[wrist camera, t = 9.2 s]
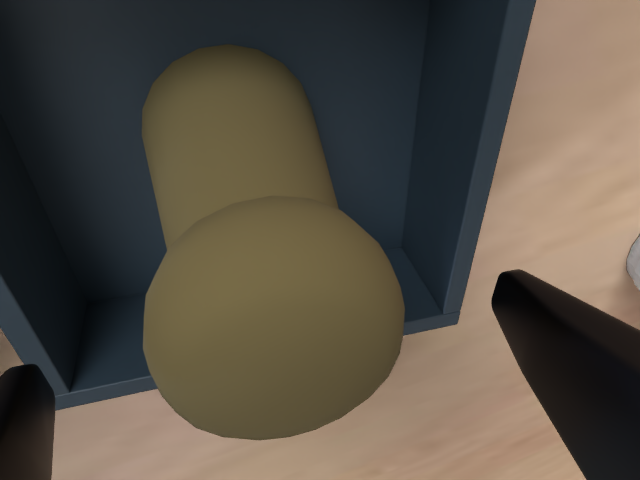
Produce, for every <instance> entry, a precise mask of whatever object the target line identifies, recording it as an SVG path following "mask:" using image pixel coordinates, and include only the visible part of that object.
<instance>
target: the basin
mask: <svg viewBox="0 0 640 480" xmlns="http://www.w3.org/2000/svg"><path fill="white" fill-rule="evenodd" d="M535 3H536V0H0V328H1V329H2V331H3V332H4V334H5V336H6V337H7V339H8V340H9V342H10V343H11V345H12V346H13V348H14V349H15V351H16V352H17V354H18V356H19V357H20V359H21V360H22V362H23V363H24V365H26V364H36V365H37V366H38V367H39V368H40V370H41V371H42V373H43V374H44V376H45V378H46V379H47V381H48V382H49V384H50V386H51V387H52V389H53V391H54V394H55V410H60V409H65V408H70V407H74V406H79V405H84V404H88V403H93V402H97V401H102V400H107V399H111V398H116V397H121V396H125V395H130V394H135V393H139V392H144V391H149V390H153V389H158V387H157V385H156V383H155V381H154V379H153V377H152V375H151V373H150V371H149V368H148V365H147V361H146V358H145V354H144V351H143V330H144V310H145V298H146V294H147V291H148V289H149V287H150V285H151V283H152V280H153V278H154V276H155V274H156V272H157V270H158V268H159V266H160V264H161V262H162V260H163V258H164V256H165V254H166V252H167V248H166V243H165V239H164V234H163V230H162V225H161V221H160V216H159V212H158V207H157V202H156V198H155V193H154V189H153V184H152V180H151V175H150V171H149V166H148V162H147V157H146V153H145V148H144V144H143V139H142V109H143V106H144V104H145V101H146V99H147V96H148V94H149V91H150V89H151V86H152V84H153V83H154V81H155V80H156V79H157V78H158V77H159V76H160V75H161V74H162V73H163V72H164V70H165V69H166V68H167V67H168V66H169V65H170V64H171V63H172V62H174V61H175V60H177V59H179V58H181V57H183V56H185V55H187V54H189V53H191V52H193V51H195V50H196V49H199V48H205V47H212V46H219V45H225V44H231V45H236V46H242V47H247V48H253V49H258V50H260V51H261V52H263V53H265V54H267V55H269V56H271V57H272V58H274V59H276V60H278V61H280V62H282V63H283V64H284V65H285V66H286V67H287V68H288V69H289V71H290V72H291V73H292V74H293V75H294V76H295V77H296V78H297V79H298V80H299V81H300V82H301V84H302V87H303V89H304V91H305V93H306V96H307V98H308V100H309V102H310V105H311V107H312V111H313V115H314V118H315V122H316V126H317V130H318V133H319V137H320V141H321V144H322V148H323V152H324V156H325V159H326V163H327V167H328V170H329V174H330V178H331V182H332V185H333V189H334V193H335V196H336V200H337V204H338V208H339V210H341V211H343V212H344V213H345V214H346V215H347V216H349V217H350V218H351V219H352V220H354V221H355V222H356V223H357V224H358V225H359V226H360V227H361V228H363V229H364V230H365V231H366V232H367V233H368V234H369V235H370V236H371V237H372V238H374V239H375V240H376V241H377V242H378V243H379V244H380V246H381V248H382V249H383V251H384V253H385V254H386V256H387V258H388V259H389V261H390V263H391V266H392V268H393V270H394V273H395V275H396V277H397V280H398V282H399V284H400V287H401V292H402V297H403V301H404V306H405V314H404V331H403V336H404V335H409V334H414V333H418V332H423V331H428V330H432V329H437V328H442V327H446V326H451V325H455V324H457V323H458V320H459V315H460V310H461V307H462V302H463V298H464V294H465V290H466V286H467V282H468V278H469V274H470V270H471V266H472V261H473V257H474V253H475V249H476V245H477V241H478V237H479V233H480V229H481V224H482V220H483V216H484V212H485V208H486V204H487V200H488V196H489V192H490V188H491V183H492V179H493V175H494V171H495V167H496V163H497V159H498V155H499V151H500V146H501V142H502V138H503V134H504V130H505V126H506V122H507V118H508V114H509V110H510V105H511V101H512V97H513V93H514V89H515V85H516V81H517V77H518V73H519V69H520V64H521V60H522V56H523V52H524V48H525V44H526V40H527V36H528V32H529V27H530V23H531V19H532V15H533V11H534V7H535Z"/></svg>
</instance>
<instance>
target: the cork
mask: <svg viewBox="0 0 640 480" xmlns="http://www.w3.org/2000/svg"><path fill="white" fill-rule="evenodd" d="M142 139H143V144H144V148H145V153H146V157H147V162H148V166H149V171H150V175H151V180H152V184H153V189H154V193H155V198H156V202H157V207H158V212H159V216H160V221H161V225H162V230H163V234H164V239H165V243H166V248H167V252H166V254H165V256H164V258H163V260H162V262H161V264H160V266H159V268H158V270H157V272H156V274H155V276H154V278H153V280H152V283H151V285H150V287H149V289H148V291H147V294H146V298H145V310H144V330H143V351H144V354H145V358H146V361H147V365H148V368H149V371H150V373H151V375H152V377H153V379H154V381H155V383H156V385H157V387H158V389H159V391H160V393H161V395H162V397H163V398H164V399H165V400H166V401H167V402H168V404H169V405H170V406H171V407H172V408H173V409H174V411H175V412H176V413H178V414H179V415H180V416H181V417H183V418H184V419H185V420H187V421H188V422H189V423H190V424H192V425H193V426H194V427H196V428H198V429H201V430H204V431H207V432H210V433H213V434H215V435H218V436H221V437H228V438H239V439H251V440H267V439H276V438H286V437H291V436H294V435H298V434H301V433H305V432H309V431H312V430H316V429H318V428H320V427H322V426H324V425H326V424H329V423H331V422H333V421H335V420H337V419H339V418H341V417H343V416H344V415H345V414H347V413H348V412H350V411H351V410H353V409H354V408H355V407H357V406H358V405H360V404H361V403H362V402H364V401H365V400H366V399H368V398H369V397H370V396H371V395H372V394H373V393H374V392H375V391H376V390H377V388H378V387H379V386H380V385H381V384H382V383H383V382H384V381H385V380H386V379H387V377H388V376H389V374H390V372H391V370H392V368H393V366H394V364H395V362H396V360H397V358H398V356H399V353H400V348H401V343H402V338H403V331H404V314H405V306H404V301H403V297H402V292H401V287H400V284H399V282H398V280H397V277H396V275H395V273H394V270H393V268H392V266H391V263H390V261H389V259H388V258H387V256H386V254H385V253H384V251H383V249H382V248H381V246H380V244H379V243H378V242H377V241H376V240H375V239H374V238H372V237H371V236H370V235H369V234H368V233H367V232H366V231H365V230H364V229H363V228H361V227H360V226H359V225H358V224H357V223H356V222H355V221H354V220H352V219H351V218H350V217H349V216H347V215H346V214H345V213H344V212H343V211H341V210H339V208H338V204H337V200H336V196H335V193H334V189H333V185H332V182H331V178H330V174H329V170H328V167H327V163H326V159H325V156H324V152H323V148H322V144H321V141H320V137H319V133H318V130H317V126H316V122H315V118H314V115H313V111H312V107H311V105H310V102H309V100H308V98H307V96H306V93H305V91H304V89H303V87H302V84H301V82H300V81H299V80H298V79H297V78H296V77H295V76H294V75H293V74H292V73H291V72H290V71H289V69H288V68H287V67H286V66H285V65H284V64H283V63H282V62H280V61H278V60H276V59H274V58H272V57H271V56H269V55H267V54H265V53H263V52H261V51H260V50H258V49H253V48H247V47H242V46H236V45H231V44H225V45H219V46H212V47H205V48H199V49H196V50H195V51H193V52H191V53H189V54H187V55H185V56H183V57H181V58H179V59H177V60H175V61H174V62H172V63H171V64H170V65H169V66H168V67H167V68H166V69H165V70H164V72H163V73H162V74H161V75H160V76H159V77H158V78H157V79H156V80H155V81H154V83H153V84H152V86H151V89H150V91H149V94H148V96H147V99H146V101H145V104H144V106H143V109H142Z"/></svg>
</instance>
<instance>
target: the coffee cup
mask: <svg viewBox="0 0 640 480" xmlns="http://www.w3.org/2000/svg"><path fill="white" fill-rule="evenodd" d="M627 272H628V273H629V275H630V276H631V278H632V279H633V280H634V284H635V285H636V287H637V288H638V290H639V291H640V236H639V237H638V238H637V240H636V241H635V243H634V244H633V246H632V248H631V250H630V253H629V255H628V258H627Z"/></svg>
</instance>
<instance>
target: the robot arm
mask: <svg viewBox="0 0 640 480" xmlns="http://www.w3.org/2000/svg"><path fill="white" fill-rule="evenodd" d="M492 309H493V312H494V314H495V316H496V318H497V320H498V322H499V325H500V327H501V329H502V331H503V333H504V335H505V337H506V340H507V342H508V344H509V346H510V348H511V350H512V352H513V355H514V357H515V359H516V361H517V363H518V365H519V367H520V369H521V371H522V373H523V375H524V376H525V378H526V380H527V382H528V383H529V385H530V387H531V388H532V390H533V392H534V393H535V395H536V397H537V398H538V400H539V402H540V403H541V405H542V407H543V408H544V410H545V412H546V413H547V415H548V417H549V418H550V420H551V422H552V423H553V425H554V427H555V428H556V430H557V432H558V433H559V435H560V437H561V438H562V440H563V442H564V443H565V445H566V447H567V448H568V450H569V451H570V453H571V455H572V456H573V458H574V460H575V461H576V463H577V465H578V466H579V468H580V470H581V471H582V473H583V475H584V476H585V478H586V480H640V330H638V329H636V328H634V327H632V326H630V325H628V324H626V323H624V322H622V321H620V320H619V319H617V318H615V317H613V316H611V315H609V314H607V313H605V312H603V311H601V310H599V309H597V308H595V307H593V306H591V305H589V304H587V303H585V302H583V301H581V300H580V299H578V298H576V297H574V296H572V295H570V294H568V293H566V292H564V291H562V290H560V289H558V288H556V287H554V286H552V285H550V284H548V283H546V282H544V281H542V280H540V279H539V278H537V277H535V276H533V275H531V274H529V273H527V272H525V271H523V270H519V269H516V270H511V271H506V272H502V273H501V274H500V275H499V277H498V280H497V283H496V286H495V290H494V293H493V296H492ZM54 421H55V394H54V391H53V389H52V387H51V386H50V384H49V382H48V381H47V379H46V378H45V376H44V374H43V373H42V371H41V370H40V368H39V367H38V366H37V365H36V364H26V365H21V366H16V367H12V368H9V369H8V370H6V371H5V372H4V373H3V374H2V376H1V377H0V480H51V475H52V458H53V439H54Z"/></svg>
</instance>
